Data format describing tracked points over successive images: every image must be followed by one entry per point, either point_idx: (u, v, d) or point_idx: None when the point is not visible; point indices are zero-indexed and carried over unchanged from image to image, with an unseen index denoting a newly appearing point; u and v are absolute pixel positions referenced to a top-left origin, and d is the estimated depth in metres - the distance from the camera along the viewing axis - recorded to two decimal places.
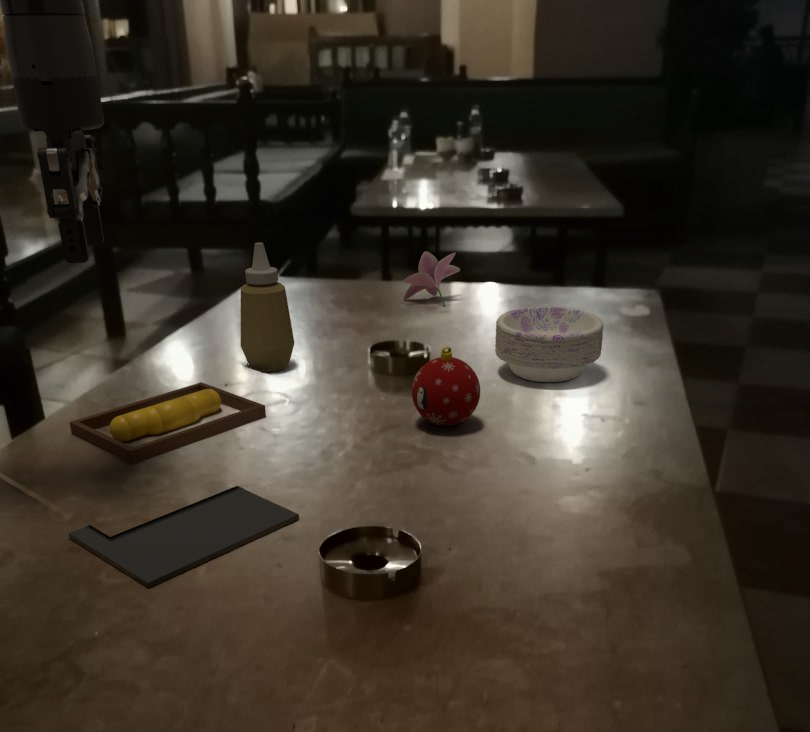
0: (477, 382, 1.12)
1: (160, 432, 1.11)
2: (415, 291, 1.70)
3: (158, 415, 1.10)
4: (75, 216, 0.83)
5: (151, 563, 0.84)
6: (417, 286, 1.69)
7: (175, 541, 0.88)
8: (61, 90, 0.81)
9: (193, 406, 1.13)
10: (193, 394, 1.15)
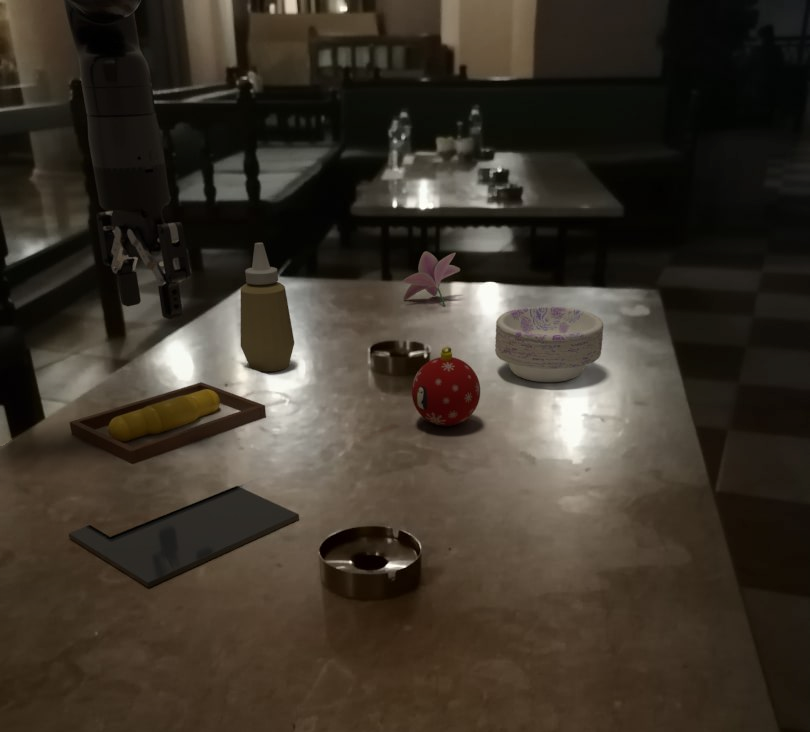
0: (477, 382, 1.12)
1: (159, 430, 1.11)
2: (415, 291, 1.70)
3: (155, 412, 1.10)
4: (189, 277, 0.99)
5: (151, 563, 0.84)
6: (417, 286, 1.69)
7: (175, 541, 0.88)
8: (157, 176, 0.96)
9: (191, 403, 1.13)
10: (191, 394, 1.15)
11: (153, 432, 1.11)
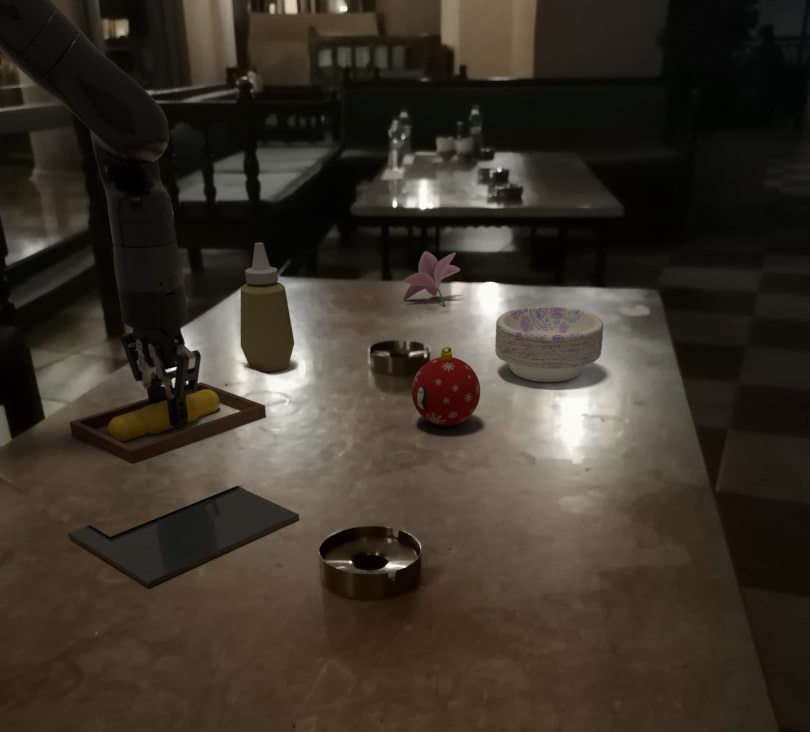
0: (477, 382, 1.12)
1: (159, 429, 1.11)
2: (415, 291, 1.70)
3: (155, 412, 1.10)
4: (194, 392, 1.09)
5: (151, 563, 0.84)
6: (417, 286, 1.69)
7: (175, 541, 0.88)
8: (177, 297, 1.04)
9: (190, 403, 1.13)
10: (190, 394, 1.15)
11: (153, 432, 1.11)
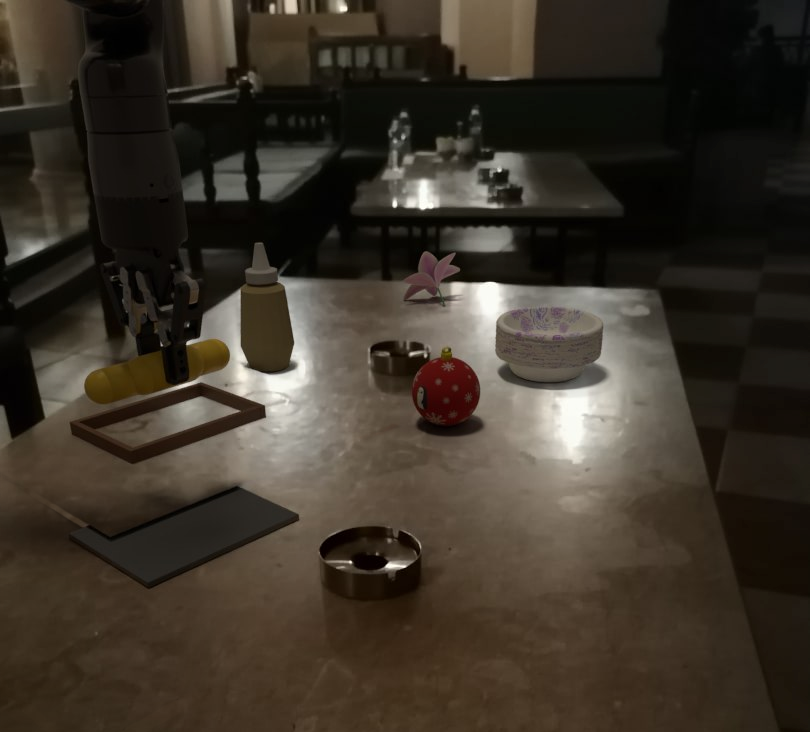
0: (477, 382, 1.12)
1: (152, 388, 0.84)
2: (415, 291, 1.70)
3: (146, 364, 0.84)
4: (197, 338, 0.83)
5: (151, 563, 0.84)
6: (417, 286, 1.69)
7: (175, 541, 0.88)
8: (174, 206, 0.78)
9: (192, 354, 0.87)
10: (192, 344, 0.89)
11: (144, 391, 0.84)
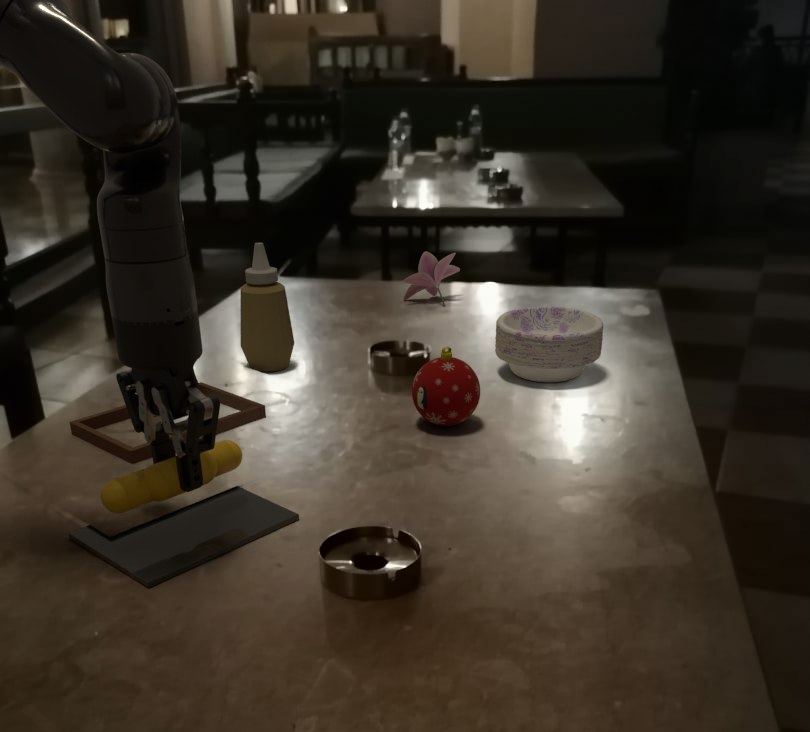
0: (477, 382, 1.12)
1: (166, 495, 0.86)
2: (415, 291, 1.70)
3: (161, 473, 0.86)
4: (211, 449, 0.85)
5: (151, 563, 0.84)
6: (417, 286, 1.69)
7: (175, 541, 0.88)
8: (189, 327, 0.80)
9: (206, 459, 0.89)
10: None
11: (159, 498, 0.86)
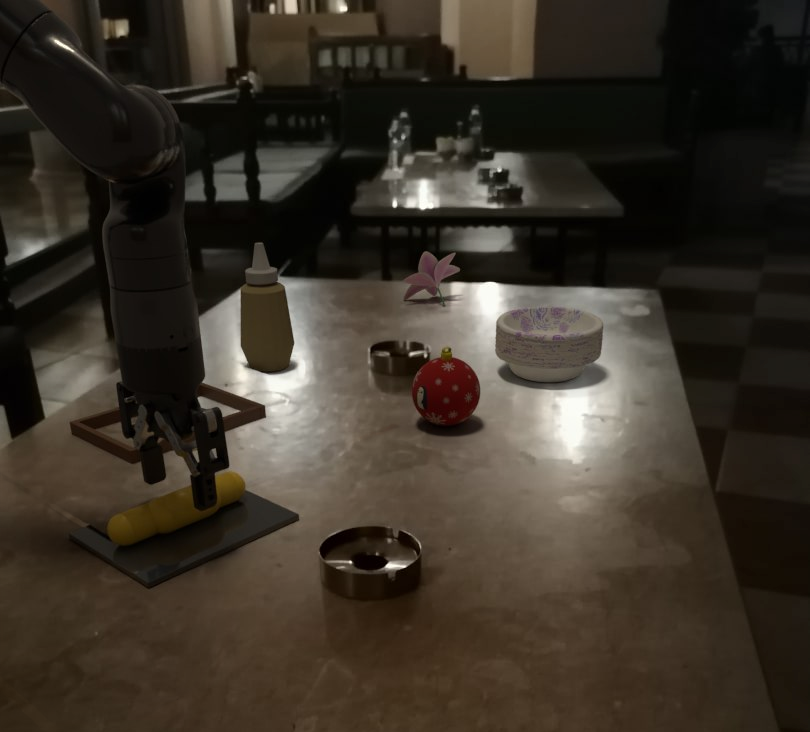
0: (477, 382, 1.12)
1: (171, 528, 0.88)
2: (415, 291, 1.70)
3: (166, 507, 0.87)
4: (227, 467, 0.84)
5: (151, 563, 0.84)
6: (417, 286, 1.69)
7: (175, 541, 0.88)
8: (193, 353, 0.81)
9: None
10: None
11: (164, 531, 0.88)
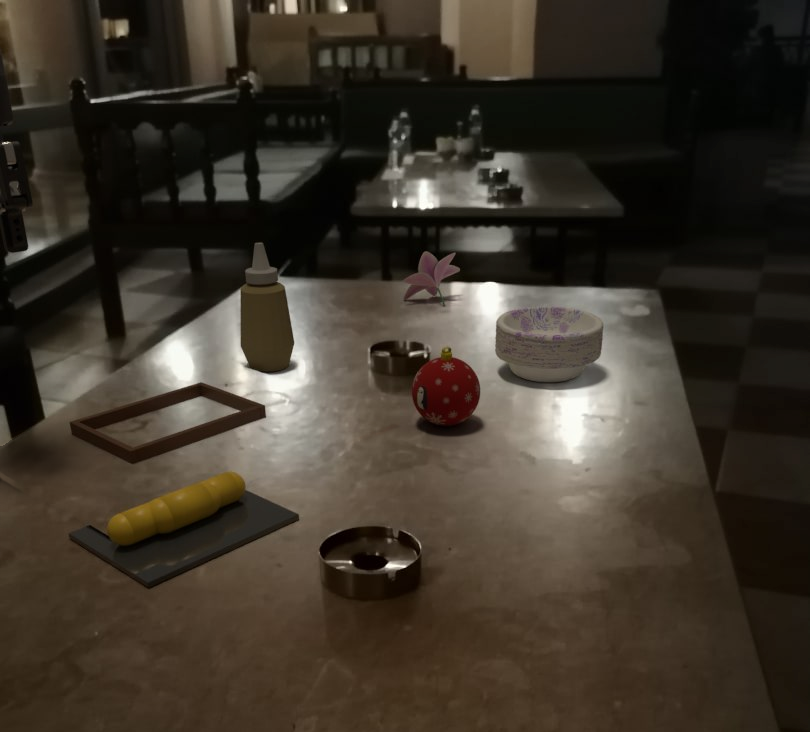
0: (477, 382, 1.12)
1: (171, 528, 0.88)
2: (415, 291, 1.70)
3: (166, 507, 0.87)
4: (31, 205, 0.89)
5: (151, 563, 0.84)
6: (417, 286, 1.69)
7: (175, 541, 0.88)
8: None
9: (210, 492, 0.90)
10: (209, 479, 0.93)
11: (164, 531, 0.88)
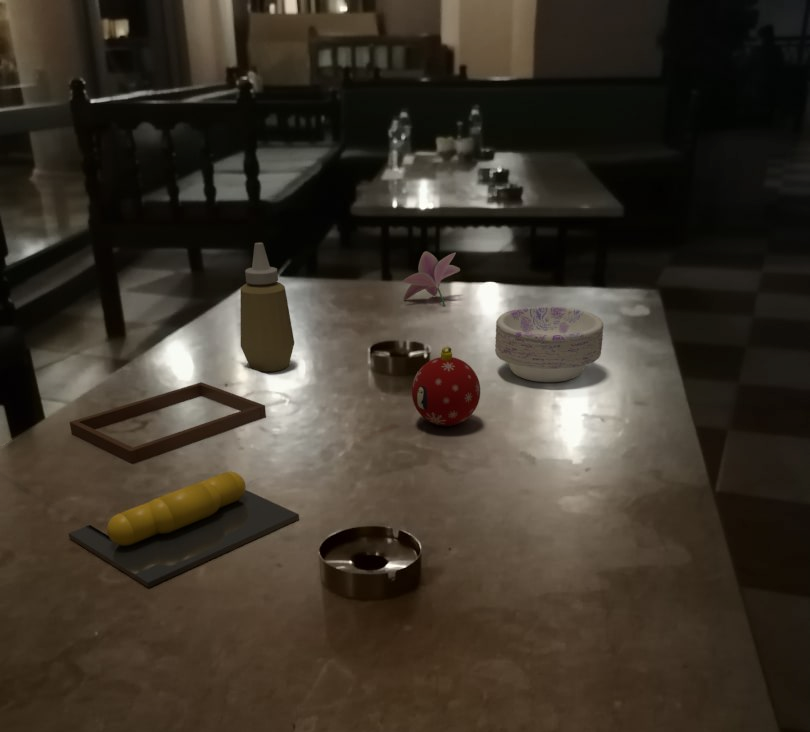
0: (477, 382, 1.12)
1: (171, 528, 0.88)
2: (415, 291, 1.70)
3: (166, 507, 0.87)
4: None
5: (151, 563, 0.84)
6: (417, 286, 1.69)
7: (175, 541, 0.88)
8: None
9: (210, 492, 0.90)
10: (209, 479, 0.93)
11: (164, 531, 0.88)
